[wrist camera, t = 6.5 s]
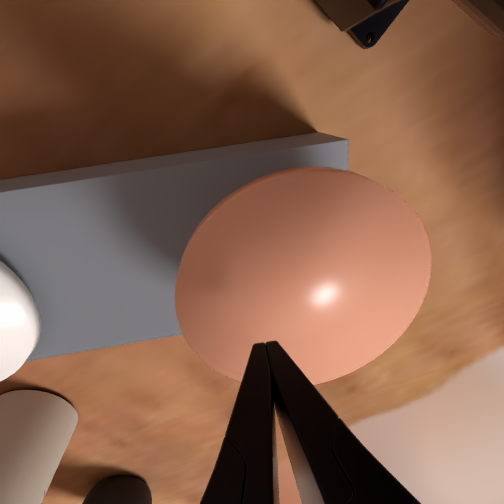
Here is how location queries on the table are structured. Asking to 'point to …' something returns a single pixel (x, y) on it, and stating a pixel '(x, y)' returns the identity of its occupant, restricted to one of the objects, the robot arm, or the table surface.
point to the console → (127, 234)
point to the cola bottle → (119, 491)
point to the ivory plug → (16, 322)
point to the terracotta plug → (303, 272)
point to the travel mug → (32, 443)
